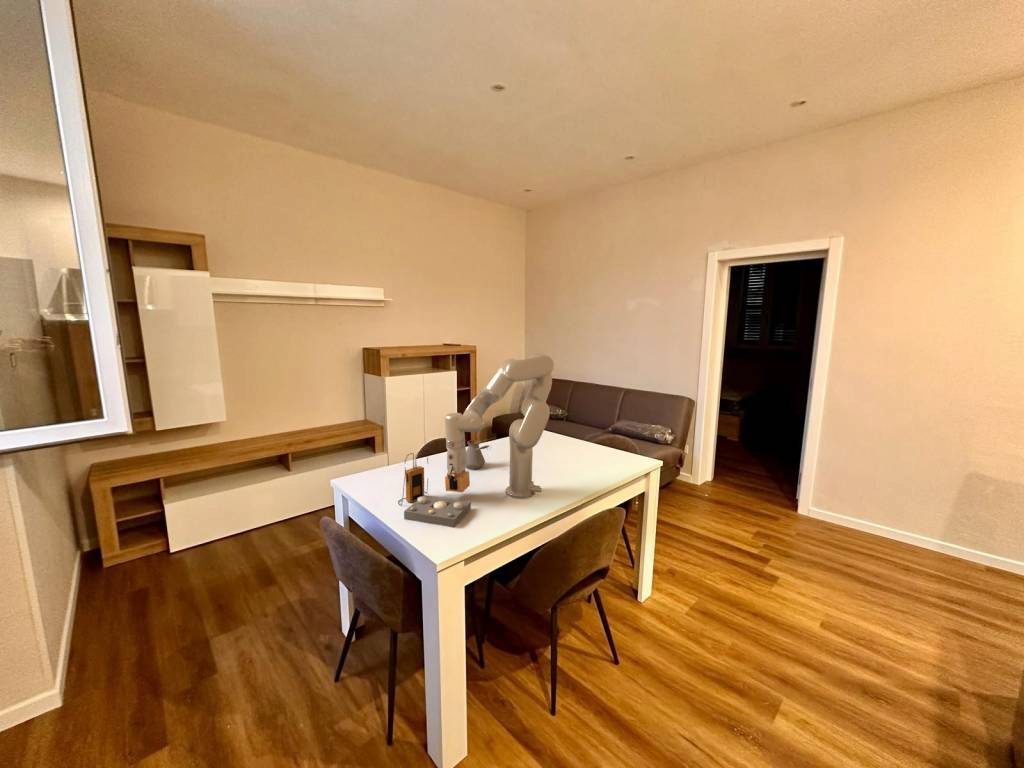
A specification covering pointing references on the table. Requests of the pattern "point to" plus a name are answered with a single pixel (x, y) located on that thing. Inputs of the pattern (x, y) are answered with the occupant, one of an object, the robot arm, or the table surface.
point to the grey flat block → (437, 511)
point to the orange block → (459, 481)
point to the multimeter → (414, 482)
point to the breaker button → (440, 505)
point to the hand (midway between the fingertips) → (457, 485)
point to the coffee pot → (475, 455)
